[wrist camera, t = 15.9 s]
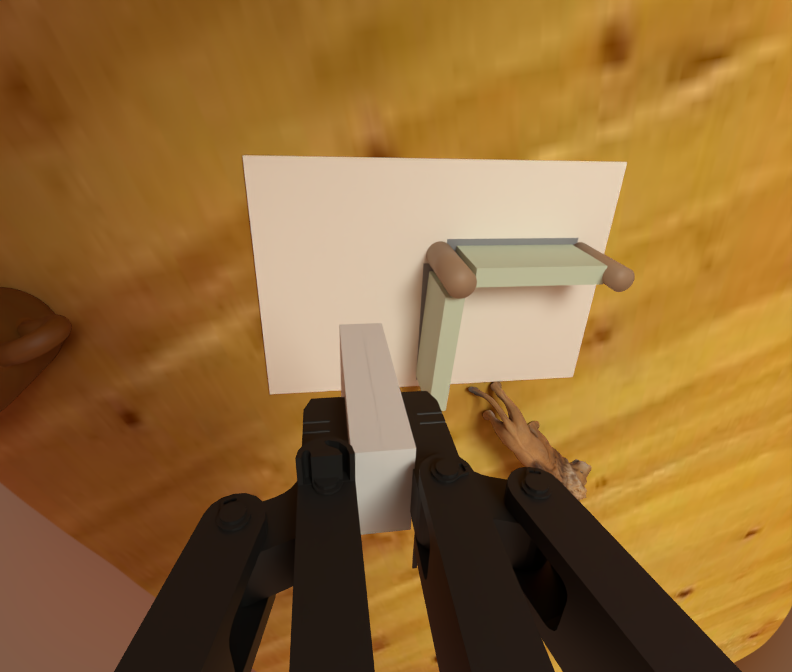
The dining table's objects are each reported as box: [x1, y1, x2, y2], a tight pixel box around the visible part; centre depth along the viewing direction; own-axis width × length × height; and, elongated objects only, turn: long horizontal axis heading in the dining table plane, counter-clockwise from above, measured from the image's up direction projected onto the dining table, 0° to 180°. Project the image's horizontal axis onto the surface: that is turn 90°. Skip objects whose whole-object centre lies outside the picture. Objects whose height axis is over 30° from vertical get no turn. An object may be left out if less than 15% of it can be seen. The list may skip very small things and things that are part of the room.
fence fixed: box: [426, 241, 634, 299], centre depth 39 cm, size 2×16×7 cm, turn 88°
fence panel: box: [416, 271, 465, 411], centre depth 41 cm, size 2×11×6 cm, turn 174°
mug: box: [0, 287, 72, 412], centre depth 34 cm, size 12×8×9 cm, turn 109°
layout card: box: [243, 155, 627, 394], centre depth 42 cm, size 22×32×1 cm
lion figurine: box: [468, 381, 591, 500], centre depth 48 cm, size 15×5×9 cm, turn 49°
